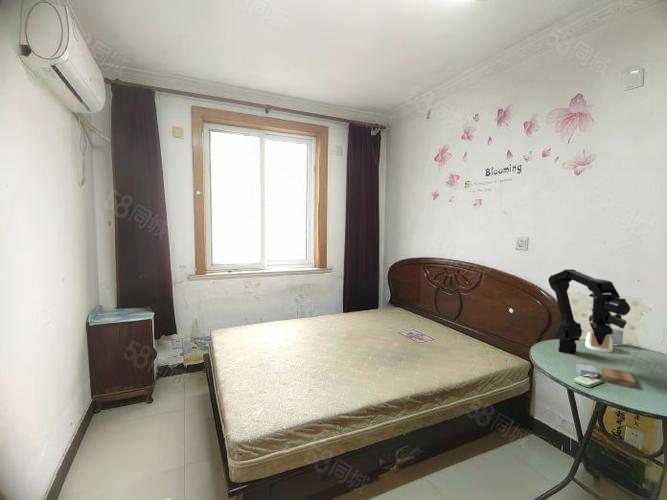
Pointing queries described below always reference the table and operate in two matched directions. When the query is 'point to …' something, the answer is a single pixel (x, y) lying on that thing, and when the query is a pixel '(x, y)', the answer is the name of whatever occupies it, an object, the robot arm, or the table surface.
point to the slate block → (586, 369)
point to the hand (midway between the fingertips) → (598, 342)
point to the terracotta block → (594, 342)
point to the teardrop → (599, 347)
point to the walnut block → (618, 377)
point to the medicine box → (617, 336)
